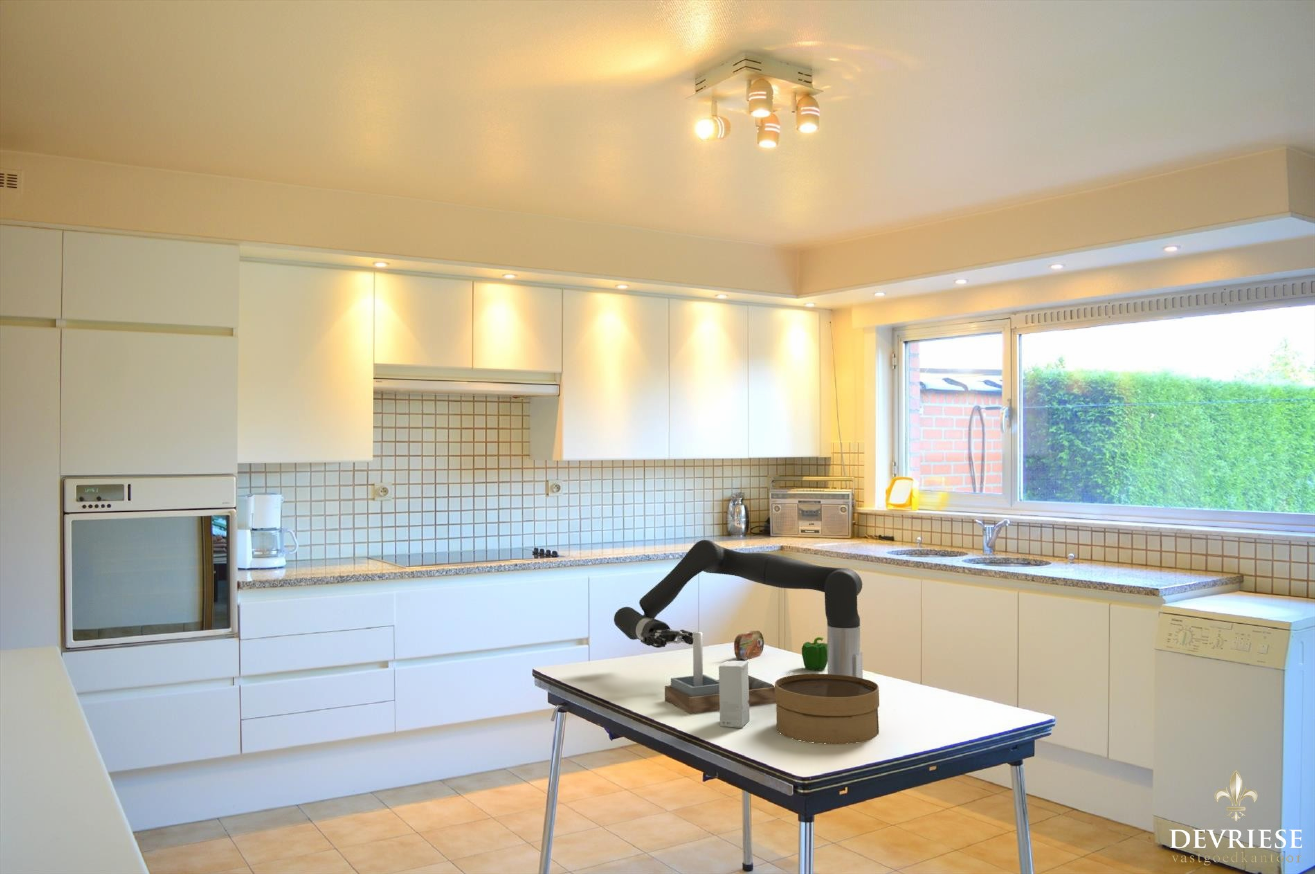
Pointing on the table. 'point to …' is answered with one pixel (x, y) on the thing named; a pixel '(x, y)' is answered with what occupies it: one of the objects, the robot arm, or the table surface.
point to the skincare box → (734, 694)
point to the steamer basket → (827, 708)
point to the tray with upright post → (696, 674)
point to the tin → (748, 645)
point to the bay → (757, 695)
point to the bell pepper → (815, 655)
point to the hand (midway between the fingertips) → (678, 642)
